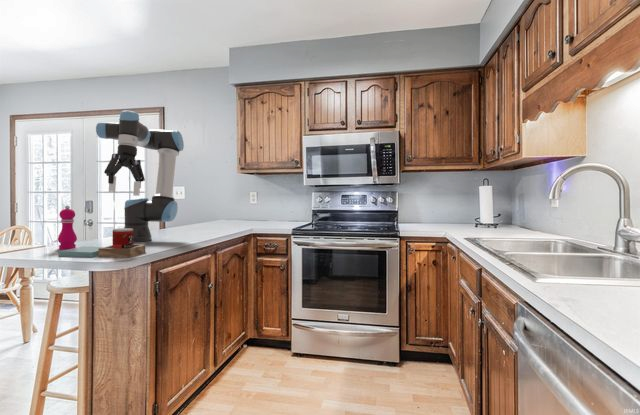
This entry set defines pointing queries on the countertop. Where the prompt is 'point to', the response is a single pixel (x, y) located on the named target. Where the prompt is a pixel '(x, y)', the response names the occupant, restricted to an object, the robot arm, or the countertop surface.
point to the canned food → (123, 238)
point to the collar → (121, 251)
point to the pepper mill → (67, 229)
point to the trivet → (81, 252)
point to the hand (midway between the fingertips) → (124, 193)
